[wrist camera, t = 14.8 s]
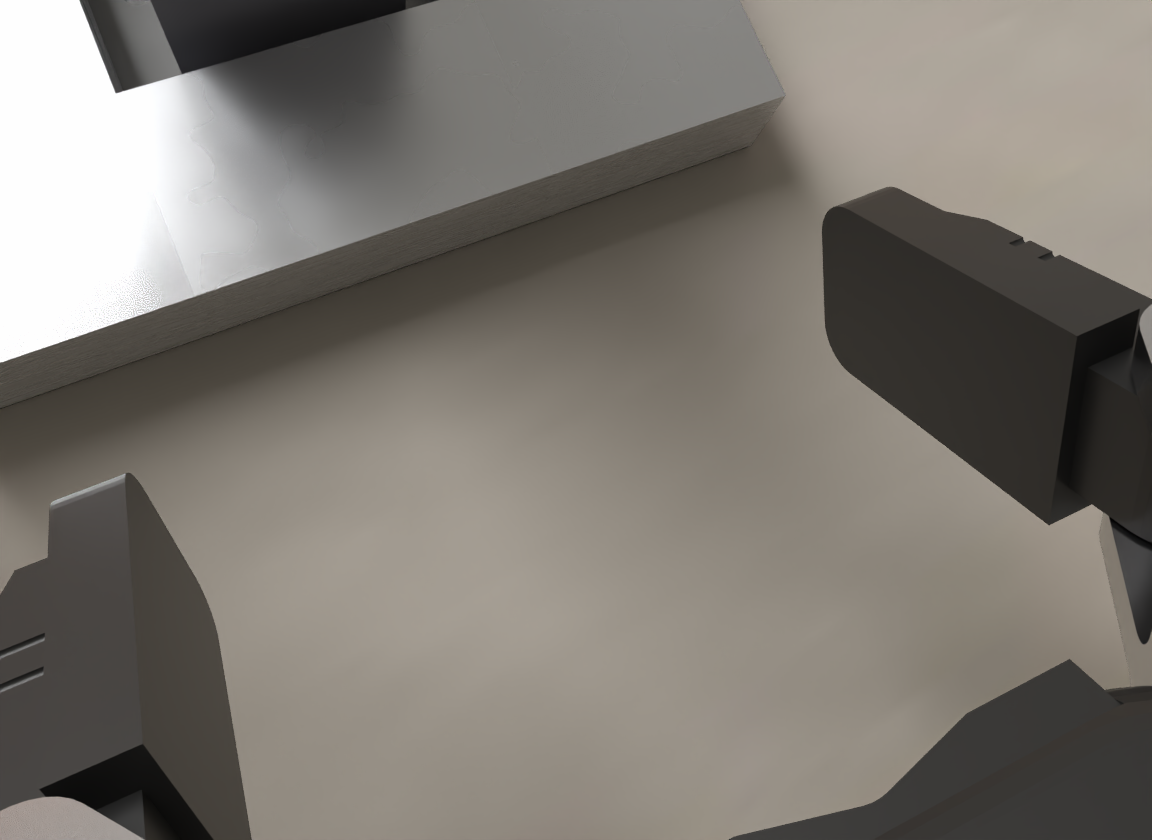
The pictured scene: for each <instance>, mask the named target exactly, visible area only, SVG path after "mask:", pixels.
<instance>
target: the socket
mask: <svg viewBox="0 0 1152 840" xmlns="http://www.w3.org/2000/svg"><path fill="white" fill-rule="evenodd" d="M785 96H786V95H785V93H784V91H783V88H782V86H781V84H780V82H779V80H778V78H777V76H776V74H775V72H774V70H773V68H772V66H771V64H770V62H769V60H768V58H767V56H766V54H765V52H764V50H763V47H762V45H761V43H760V41H759V39H758V37H757V35H756V33H755V31H754V29H753V27H752V25H751V23H750V21H749V19H748V17H747V15H746V13H745V11H744V9H743V6H742V4H741V2H740V0H406V10H403V11H400V12H396V13H393V14H389V15H386V16H382V17H379V18H375V19H372V20H368V21H365V22H362V23H358V24H355V25H351V26H348V27H344V28H341V29H337V30H334V31H330V32H327V33H324V34H320V35H317V36H313V37H310V38H306V39H303V40H299V41H296V42H292V43H289V44H286V45H282V46H279V47H275V48H272V49H268V50H265V51H261V52H258V53H254V54H251V55H248V56H244V57H241V58H237V59H234V60H230V61H227V62H223V63H220V64H216V65H213V66H210V67H206V68H203V69H199V70H196V71H192V72H189V73H185V74H182V73H181V71H180V69H179V66H178V64H177V62H176V59H175V57H174V55H173V52H172V50H171V47H170V45H169V43H168V40H167V38H166V36H165V33H164V31H163V29H162V26H161V24H160V22H159V19H158V17H157V15H156V12H155V10H154V8H153V5H152V3H151V1H150V0H0V408H3V407H5V406H8V405H11V404H14V403H17V402H20V401H23V400H25V399H28V398H31V397H34V396H37V395H40V394H43V393H45V392H48V391H51V390H54V389H57V388H60V387H63V386H65V385H68V384H71V383H74V382H77V381H80V380H83V379H85V378H88V377H91V376H94V375H97V374H100V373H103V372H105V371H108V370H111V369H114V368H117V367H120V366H123V365H125V364H128V363H131V362H134V361H137V360H140V359H143V358H145V357H148V356H151V355H154V354H157V353H160V352H163V351H165V350H168V349H171V348H174V347H177V346H180V345H183V344H185V343H188V342H191V341H194V340H197V339H200V338H203V337H205V336H208V335H211V334H214V333H217V332H220V331H223V330H225V329H228V328H231V327H234V326H237V325H240V324H243V323H245V322H248V321H251V320H254V319H257V318H260V317H263V316H265V315H268V314H271V313H274V312H277V311H280V310H283V309H285V308H288V307H291V306H294V305H297V304H300V303H303V302H305V301H308V300H311V299H314V298H317V297H320V296H323V295H325V294H328V293H331V292H334V291H337V290H340V289H343V288H345V287H348V286H351V285H354V284H357V283H360V282H363V281H365V280H368V279H371V278H374V277H377V276H380V275H382V274H385V273H388V272H391V271H394V270H397V269H400V268H402V267H405V266H408V265H411V264H414V263H417V262H420V261H422V260H425V259H428V258H431V257H434V256H437V255H440V254H442V253H445V252H448V251H451V250H454V249H457V248H460V247H462V246H465V245H468V244H471V243H474V242H477V241H480V240H482V239H485V238H488V237H491V236H494V235H497V234H500V233H502V232H505V231H508V230H511V229H514V228H517V227H520V226H522V225H525V224H528V223H531V222H534V221H537V220H540V219H542V218H545V217H548V216H551V215H554V214H557V213H560V212H562V211H565V210H568V209H571V208H574V207H577V206H580V205H582V204H585V203H588V202H591V201H594V200H597V199H600V198H602V197H605V196H608V195H611V194H614V193H617V192H620V191H622V190H625V189H628V188H631V187H634V186H637V185H640V184H642V183H645V182H648V181H651V180H654V179H657V178H660V177H662V176H665V175H668V174H671V173H674V172H677V171H680V170H682V169H685V168H688V167H691V166H694V165H697V164H700V163H702V162H705V161H708V160H711V159H714V158H717V157H720V156H722V155H725V154H728V153H731V152H734V151H737V150H740V149H742V148H745V147H748V146H751V145H752V143H753V142H754V141H755V139H756V138H757V136H758V135H759V133H760V132H761V130H762V129H763V128H764V126H765V125H766V123H767V122H768V120H769V119H770V117H771V116H772V115H773V113H774V112H775V110H776V109H777V107H778V106H779V104H780V103H781V102H782V100H783V99H784V97H785Z"/></svg>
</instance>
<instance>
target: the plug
mask: <svg viewBox="0 0 1152 840" xmlns="http://www.w3.org/2000/svg"><path fill="white" fill-rule="evenodd" d="M150 1H151V3H152V5H153V8H154V10H155V12H156V15H157V17H158V19H159V22H160V24H161V26H162V29H163V31H164V33H165V36H166V38H167V40H168V43H169V45H170V47H171V50H172V52H173V55H174V57H175V59H176V62H177V64H178V66H179V69H180V71H181V73H182V74H185V73H189V72H192V71H196V70H199V69H203V68H206V67H210V66H213V65H216V64H220V63H223V62H227V61H230V60H234V59H237V58H241V57H244V56H248V55H251V54H254V53H258V52H261V51H265V50H268V49H272V48H275V47H279V46H282V45H286V44H289V43H292V42H296V41H299V40H303V39H306V38H310V37H313V36H317V35H320V34H324V33H327V32H330V31H334V30H337V29H341V28H344V27H348V26H351V25H355V24H358V23H362V22H365V21H368V20H372V19H375V18H379V17H382V16H386V15H389V14H393V13H396V12H400V11H403V10H406V0H150Z"/></svg>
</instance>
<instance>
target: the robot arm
mask: <svg viewBox="0 0 1152 840" xmlns="http://www.w3.org/2000/svg"><path fill="white" fill-rule="evenodd" d="M822 245H823V276H824V308H825V328H826V333H827V337H828V340H829V343H830V346H831V348H832V350H833V352H834V354H835V356H836V357H837V359H838V361H839V362H840V363H841V365H842V366H843V367H844V368H845V369H846V370H847V371H848V372H849V373H850V374H852V375H853V376H854V377H856V378H857V379H858V380H860V381H861V382H862V383H863V384H865V385H866V386H867V387H869V388H870V389H871V390H873V391H874V392H875V393H877V394H878V395H879V396H881V397H882V398H883V399H884V400H886V401H887V402H888V403H890V404H891V405H892V406H894V407H895V408H896V409H898V410H899V411H900V412H901V413H903V414H904V415H905V416H907V417H908V418H909V419H911V420H912V421H913V422H915V423H916V424H917V425H918V426H920V427H921V428H922V429H924V430H925V431H926V432H928V433H929V434H930V435H932V436H933V437H934V438H935V439H937V440H938V441H939V442H941V443H942V444H943V445H945V446H946V447H947V448H949V449H950V450H951V451H952V452H954V453H955V454H956V455H958V456H959V457H960V458H962V459H963V460H964V461H966V462H967V463H968V464H969V465H971V466H972V467H973V468H975V469H976V470H977V471H979V472H980V473H981V474H983V475H984V476H985V477H986V478H988V479H989V480H990V481H992V482H993V483H994V484H996V485H997V486H998V487H1000V488H1001V489H1002V490H1003V491H1005V492H1006V493H1007V494H1009V495H1010V496H1011V497H1013V498H1014V499H1015V500H1017V501H1018V502H1019V503H1021V504H1022V505H1023V506H1024V507H1026V508H1027V509H1028V510H1030V511H1031V512H1032V513H1034V514H1035V515H1036V516H1038V517H1039V518H1040V519H1041V520H1043V521H1044V522H1045V523H1047V524H1048V525H1050V524H1053V523H1055V522H1057V521H1059V520H1061V519H1063V518H1065V517H1067V516H1069V515H1071V514H1073V513H1075V512H1077V511H1079V510H1081V509H1083V508H1085V507H1087V506H1089V505H1091V504H1092V505H1094V506H1095V507H1097V508H1098V509H1100V510H1101V511H1102V512H1103V516H1102V521H1101V526H1100V531H1099V538H1100V544H1101V549H1102V553H1103V557H1104V562H1105V566H1106V571H1107V575H1108V580H1109V584H1110V589H1111V593H1112V598H1113V602H1114V607H1115V611H1116V615H1117V620H1118V624H1119V629H1120V633H1121V638H1122V642H1123V647H1124V651H1125V656H1126V660H1127V665H1128V670H1129V676H1130V687H1125V688H1116V689H1109V690H1104V689H1103V688H1102V687H1100V686H1099V685H1098V684H1097V683H1096V682H1095V681H1094V680H1093V679H1091V678H1090V677H1089V676H1088V675H1087V674H1086V673H1085V672H1084V671H1082V670H1081V669H1080V668H1079V667H1078V666H1077V665H1076V664H1074V663H1073V662H1072V661H1071V660H1070V659H1069V660H1067V661H1065V662H1063V663H1061V664H1059V665H1058V666H1056V667H1054V668H1052V669H1050V670H1048V671H1046V672H1044V673H1042V674H1041V675H1039V676H1037V677H1035V678H1033V679H1031V680H1029V681H1027V682H1025V683H1024V684H1022V685H1020V686H1018V687H1016V688H1014V689H1012V690H1010V691H1008V692H1007V693H1005V694H1003V695H1001V696H999V697H997V698H995V699H993V700H991V701H990V702H988V703H986V704H984V705H982V706H980V707H978V708H976V709H974V710H973V711H971V712H969V713H967V714H966V715H965V716H964V717H963V718H962V719H961V720H960V721H959V722H958V723H957V724H956V725H955V726H954V727H953V728H952V729H951V730H950V731H949V732H948V733H947V734H946V735H945V736H944V737H943V738H942V739H941V740H940V741H939V742H938V743H937V744H936V745H935V746H934V747H933V748H932V749H931V750H930V751H929V752H928V753H927V754H926V755H925V756H924V757H923V758H922V759H921V760H920V761H919V762H918V763H917V764H916V765H915V766H914V767H913V768H912V769H911V770H910V771H909V772H908V773H907V774H906V775H905V776H903V777H902V778H901V779H900V780H899V781H898V782H897V783H896V784H895V785H894V786H893V787H892V788H891V789H890V790H889V791H888V792H887V793H886V794H885V795H884V796H883V797H881V798H880V799H878V800H877V801H875V802H873V803H871V804H868V805H865V806H861V807H857V808H853V809H849V810H844V811H840V812H836V813H832V814H828V815H823V816H819V817H815V818H811V819H806V820H802V821H798V822H794V823H790V824H785V825H781V826H777V827H773V828H769V829H764V830H760V831H756V832H752V833H748V834H743V835H739V836H735V837H733V838H731V839H729V840H1152V299H1150V298H1148V297H1146V296H1144V295H1142V294H1140V293H1138V292H1136V291H1134V290H1132V289H1129V288H1127V287H1125V286H1123V285H1121V284H1119V283H1117V282H1115V281H1113V280H1111V279H1109V278H1107V277H1104V276H1102V275H1100V274H1098V273H1096V272H1094V271H1092V270H1090V269H1088V268H1086V267H1084V266H1082V265H1080V264H1077V263H1075V262H1073V261H1071V260H1069V259H1067V258H1065V257H1063V256H1061V255H1059V256H1056V257H1054V256H1053V254H1052V251H1050V250H1048V249H1046V248H1044V247H1042V246H1040V245H1038V244H1036V243H1034V242H1032V241H1028V242H1026V243H1025V242H1024V240H1023V237H1021V236H1019V235H1017V234H1015V233H1013V232H1011V231H1009V230H1007V229H1005V228H1003V227H1001V226H998V225H996V224H994V223H992V222H990V221H988V220H984V219H980V218H975V217H970V216H965V215H960V214H955V213H950V212H945V211H942V210H940V209H938V208H936V207H934V206H932V205H930V204H928V203H926V202H924V201H922V200H920V199H918V198H916V197H914V196H912V195H910V194H908V193H906V192H904V191H902V190H900V189H898V188H895V187H886V188H883V189H880V190H878V191H875V192H872V193H870V194H867V195H865V196H862V197H859V198H857V199H854V200H851V201H849V202H846V203H843V204H841V205H838V206H836V207H833V208H831V209H830V210H829V211H828V212H827V214H826V215H825V218H824V221H823V226H822ZM0 840H252V839H251V833H250V827H249V821H248V815H247V809H246V803H245V797H244V791H243V785H242V779H241V773H240V767H239V761H238V755H237V748H236V742H235V736H234V730H233V724H232V718H231V712H230V706H229V700H228V694H227V688H226V682H225V676H224V670H223V664H222V658H221V652H220V646H219V639H218V634H217V630H216V626H215V623H214V619H213V616H212V613H211V611H210V608H209V605H208V603H207V600H206V598H205V596H204V593H203V591H202V589H201V587H200V585H199V583H198V581H197V579H196V578H195V576H194V574H193V572H192V571H191V569H190V567H189V566H188V564H187V562H186V560H185V559H184V557H183V555H182V554H181V552H180V550H179V549H178V547H177V545H176V543H175V542H174V540H173V538H172V537H171V535H170V533H169V531H168V530H167V528H166V526H165V525H164V523H163V521H162V519H161V518H160V516H159V514H158V513H157V511H156V509H155V508H154V506H153V504H152V502H151V501H150V499H149V497H148V496H147V494H146V492H145V491H144V489H143V487H142V486H141V484H140V483H139V482H138V480H137V479H136V478H135V477H134V476H133V475H132V474H130V473H126V474H123V475H121V476H118V477H115V478H113V479H110V480H107V481H105V482H102V483H99V484H97V485H94V486H91V487H89V488H86V489H84V490H81V491H78V492H76V493H73V494H70V495H68V496H65V497H62V498H60V499H57V500H55V501H53V502H52V503H51V505H50V511H49V538H48V558H46V559H43V560H41V561H38V562H36V563H33V564H30V565H28V566H25V567H23V568H20V569H18V570H15V571H14V573H13V575H12V576H11V578H10V580H9V581H8V583H7V585H6V586H5V588H4V590H3V591H2V593H1V595H0Z"/></svg>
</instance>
